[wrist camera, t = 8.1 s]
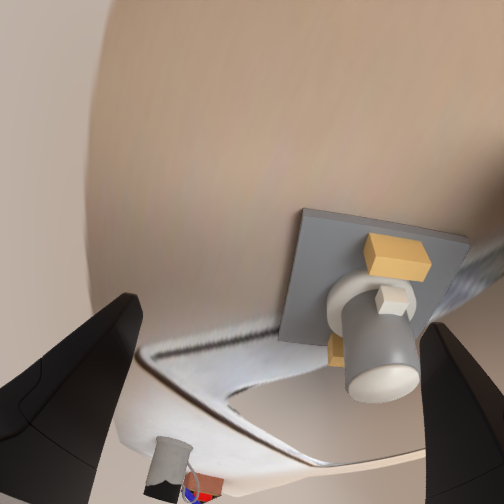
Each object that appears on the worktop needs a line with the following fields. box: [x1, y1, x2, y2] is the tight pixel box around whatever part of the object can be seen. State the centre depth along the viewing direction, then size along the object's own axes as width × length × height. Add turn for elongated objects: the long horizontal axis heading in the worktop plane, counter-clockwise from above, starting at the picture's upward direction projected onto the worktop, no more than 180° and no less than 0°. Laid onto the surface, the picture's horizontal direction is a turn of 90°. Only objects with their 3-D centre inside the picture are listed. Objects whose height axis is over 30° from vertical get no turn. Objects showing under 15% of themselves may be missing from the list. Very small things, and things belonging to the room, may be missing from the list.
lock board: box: [278, 208, 471, 367], centre depth 22 cm, size 13×13×4 cm
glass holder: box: [143, 436, 199, 504], centre depth 54 cm, size 9×14×15 cm, turn 42°
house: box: [181, 472, 224, 504], centre depth 84 cm, size 12×20×12 cm, turn 163°
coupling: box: [341, 285, 421, 404], centre depth 19 cm, size 7×5×6 cm
